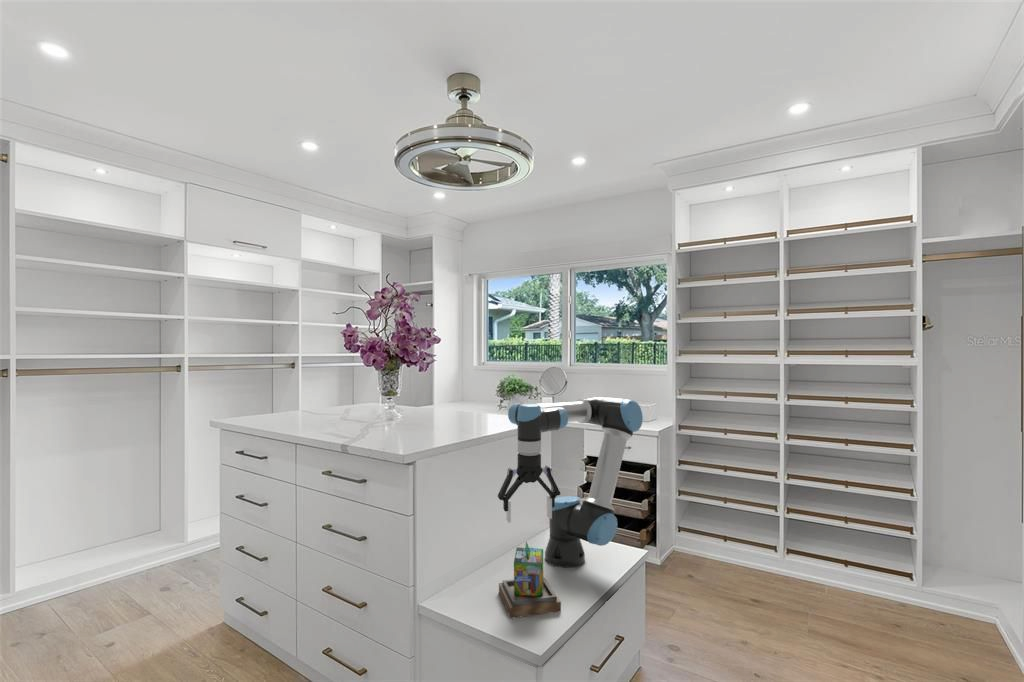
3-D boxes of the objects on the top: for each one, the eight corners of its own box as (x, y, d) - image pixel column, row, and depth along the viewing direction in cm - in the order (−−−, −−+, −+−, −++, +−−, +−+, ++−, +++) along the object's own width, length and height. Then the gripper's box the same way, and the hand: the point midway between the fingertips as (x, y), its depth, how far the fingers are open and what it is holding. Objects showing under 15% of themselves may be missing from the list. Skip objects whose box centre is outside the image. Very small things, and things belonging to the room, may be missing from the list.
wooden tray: (544, 586, 170) (545, 574, 170) (560, 611, 154) (560, 597, 154) (498, 592, 166) (498, 579, 166) (510, 618, 150) (510, 604, 150)
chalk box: (542, 598, 156) (543, 554, 154) (513, 596, 157) (513, 552, 155) (544, 580, 165) (544, 538, 163) (516, 578, 166) (516, 536, 164)
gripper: (562, 448, 167) (562, 512, 167) (488, 452, 161) (488, 518, 161) (570, 453, 159) (570, 519, 159) (493, 457, 153) (493, 526, 153)
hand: (529, 519), depth 160 cm, fingers open, 13 cm apart
